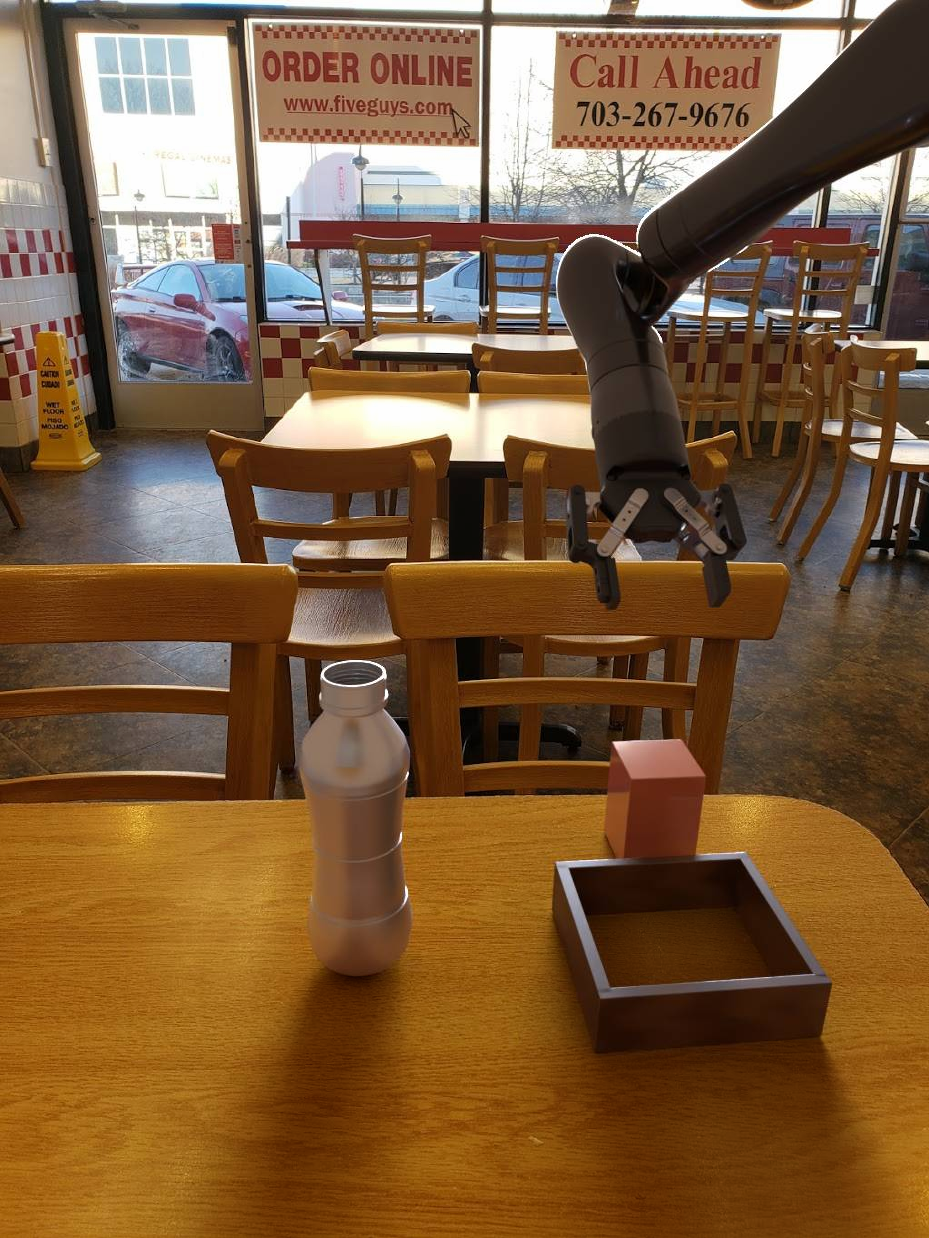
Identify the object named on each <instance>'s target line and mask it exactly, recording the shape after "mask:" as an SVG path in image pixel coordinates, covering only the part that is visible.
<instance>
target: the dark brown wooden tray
mask: <svg viewBox="0 0 929 1238" xmlns="http://www.w3.org/2000/svg"><path fill="white" fill-rule="evenodd" d="M552 883H553V884H552V897H551V898H552V900H551V912H552V916H553V918H554V919H553V920H554V923H555V925H556V929H557V932H558V935H559V938H560V942H561V945H562V949H563V951H564V952H563V953H564V956H565V958H566V961H567V965H568V968H569V971H570V975H571V978H572V981H573V985H574V988H575V991H576V995H577V998H578V1001H579V1004H580V1008H581V1011H582V1014H583V1017H584V1021H585V1025H586V1027H587V1031H588V1034H589V1037H590V1040H591V1044H592V1047H593V1051H594V1053H595V1054H604V1053H619V1052H633V1051H644V1050H645V1051H646V1050H655V1049H656V1050H658V1049H671V1048H672V1049H673V1048H683V1047H685V1048H686V1047H698V1046H699V1047H700V1046H709V1045H710V1046H713V1045H724V1044H738V1043H751V1042H752V1043H753V1042H764V1041H765V1042H766V1041H777V1040H792V1039H805V1038H813V1037H814V1038H817V1037H822V1036H823V1035H822V1034H823V1030H824V1025H825V1021H826V1016H827V1011H828V1006H829V1001H830V997H831V991H832V987H833V981H832V980H831V979H830V977H829V976H828V974H827V973H826V971H825V970H824V969H823V966H822V965H821V964H820V962H819V961H818V959H817V958H816V957H815V954H814V953H813V951H812V950H811V949H810V947H809V945H808V944H807V942H806V941H805V939H804V938H803V936H802V934H801V933H800V932H799V930H798V929H797V927H796V925H795V923H794V922H793V921H792V920H791V919H792V918H790V916H789V914H788V913H787V912H786V910H785V908H784V907H783V906H782V904H781V902H780V901H779V899H778V897H777V896H776V895H775V893H774V892H773V891H772V889H771V887H770V886H769V884H768V883H767V881H766V880H765V878H764V876H763V875H762V873H761V872H760V871H759V869H758V867H757V866H756V864H755V863H754V860H753V859H752V858H751V856H750V854H749V853H748V852H747V851H741V852H740V851H739V852H726V853H725V852H724V853H723V852H721V853H703V854H701V853H700V854H696V855H682V856H662V857H643V858H624V859H616V858H608V859H607V858H605V859H587V860H568V861H555V862H554V870H553V882H552ZM725 907H733V908H734V910H735V912H736V914H737V916H738V917H739V919H740V921H741V922H742V924H743V926H744V928H745V930H746V931H747V933H748V935H749V936H750V938H751V939H752V941H753V943H754V945H755V947H756V949H757V950H758V951H759V953H760V956H761V957H762V959H763V960H764V962H765V964H766V966H767V967H768V969H769V971H770V972H771V974H772V976H769V977H754V978H753V977H752V978H740V979H739V978H737V979H724V980H708V981H696V982H695V981H694V982H681V983H678V982H677V983H666V984H665V983H664V984H651V985H650V984H649V985H635V986H633V985H632V986H620V987H611V985H610V982H609V980H608V977H607V974H606V971H605V967H604V966H603V963H602V960H601V957H600V954H599V950H598V948H597V944H596V943H595V939H594V936H593V934H592V931H591V928H590V925H589V923H588V920H587V916H588V915H590V916H591V915H606V914H607V915H608V914H623V913H624V914H625V913H636V912H637V913H639V912H657V911H673V910H674V911H675V910H690V909H691V910H692V909H708V908H725Z"/></svg>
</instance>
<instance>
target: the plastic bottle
mask: <svg viewBox="0 0 929 1238" xmlns="http://www.w3.org/2000/svg"><path fill="white" fill-rule="evenodd" d="M386 672H387V671H386V668H385V667H383V666H382V665H380V664H378V663H376V662H372V661H367V660H345V661H339V662H336V663H332V664H330V665H328V666H327V667H325V668H324V669H322V671H321V674H320V693H319V696H318V701H319V702H318V703H319V707H320V708H321V709H322V710H323V711H322V713H320V715H319V716H318V717H317V719H316V720H315V721H314V722H313V723H312V724H311V727H310V728H309V730H308V731H307V733H306V734H305V736H304V737H303V738H302V740H301V744H300V748H299V752H298V757H297V763H298V770H299V775H300V779H301V783H302V788H303V792H304V797H305V801H306V807H307V810H308V815H309V826H310V834H311V838H312V840H311V843H312V850H313V863H312V864H313V865H312V884H311V885H312V887H311V895H310V899H309V904H308V913H307V921H306V929H307V935H308V939H309V942H310V946H311V950H312V951H313V953H314V956H315V957H316V958H317V959H318V960H319V962H321V963H322V964H323V965H324V966H325V967H327V968H328V969H329V970H331V971H332V972H335V973H338V974H339V975H344V976H350V977H364V976H369V975H374V974H378V973H380V972H383V971H385V970H386V969H388V968H390V967H391V966H392V965H394V964H395V963H396V962H397V961H398V960H399V959H400V957H402V955H403V954H404V953H405V952H406V950H407V948H408V946H409V943H410V939H411V935H412V934H411V933H412V930H413V924H414V916H413V915H414V914H413V910H412V903H411V899H410V895H409V891H408V888H407V885H406V877H405V875H406V874H405V867H404V866H405V865H404V857H403V850H402V844H403V843H402V841H403V840H402V839H403V836H402V835H403V822H404V821H403V818H404V807H405V806H404V805H405V798H406V792H407V786H408V779H409V770H410V763H411V762H410V761H411V750H410V747H409V744H408V740H407V738H406V736H405V733H404V732H403V730H402V729H401V728H400V726H399V725H398V724H397V723H396V720H394V718H393V717H392V716H391V715H390V714H389V713H388V711H386V710H385V709H384V708H385V707H386V706H387V704H388V703H389V693H388V690H387V673H386Z"/></svg>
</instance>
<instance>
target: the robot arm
mask: <svg viewBox="0 0 929 1238" xmlns="http://www.w3.org/2000/svg"><path fill="white" fill-rule="evenodd" d="M924 148H929V0H893V2H892V3H891V4H890V5H888V6H887V7H886V8H885V9H884V10H883V11H881V12H880V13H879V14H878V15H877V17H875V18H874V19H873V20H872V21H871V22H870V23H869V24H868V25H867V26H866V27H864V29H863V30H862V31H861V32H860V33H859V34H858V35H857V36H856V37H855V38H854V39H853V40H851V42H850V43H849V44H848V45H847V46H846V47H845V48H844V49H843V50H842V51H841V52H840V53H839V54H838V55H837V56H836V57H835V58H834V59H833V60H832V61H831V62H830V63H829V65H827V66H826V68H824V70H823V71H821V72H820V74H818V76H816V78H815V79H814V80H813V81H812V82H811V83H810V84H808V86H806V88H804V89H803V90H802V91H801V92H800V93H799V94H798V95H796V97H795V98H794V99H793V100H791V102H789V103H788V104H787V105H786V106H785V107H784V108H783V109H781V111H779V112H778V113H777V114H776V115H775V116H774V117H773V118H771V119H770V120H769V121H768V122H766V123H765V125H763V126H762V127H761V128H759V130H757V131H756V132H755V133H753V134H752V135H751V136H750V137H748V138H747V139H745V140H744V141H743V142H742V143H740V144H738V146H736V147H735V148H733V149H732V150H731V151H730V152H728V153H727V154H725V155H724V156H722V157H721V158H719V160H716V161H715V162H714V163H713V164H712V165H710V166H709V167H707V168H706V169H704V170H703V171H701V172H700V173H699V174H697V175H696V176H695V177H693V178H692V179H691V180H689V181H687V182H686V183H685V184H684V185H682V186H681V187H680V188H678V189H677V190H675V191H674V192H673V193H672V194H670V195H668V196H667V197H666V198H664V199H663V200H662V201H660V202H659V203H658V204H657V205H655V206H654V207H653V208H651V210H649V212H647V213H646V214H645V215H644V217H643V218H642V219H641V221H640V223H639V225H638V228H637V232H636V244H637V251H638V252H637V251H636V250H633V249H631V248H630V247H628V246H625V245H623V244H622V243H620V242H617V240H613V239H611V238H610V237H607V236H604V235H599V234H589V235H585V236H583V237H580V238H578V239H576V240H575V241H574V242H573V243H571V245H569V246H568V248H567V249H566V251H565V252H564V254H563V256H562V257H561V259H560V262H559V265H558V269H557V272H556V273H557V274H556V281H555V282H556V283H555V285H556V288H555V289H556V297H557V302H558V305H559V308H560V311H561V314H562V317H563V319H564V322H565V323H566V326H567V327H568V330H569V332H570V335H571V337H572V339H573V341H574V343H575V345H576V348H577V349H578V351H579V353H580V355H581V356H582V358H583V361H584V362H585V371H586V377H587V383H588V389H589V390H588V391H589V395H590V396H589V397H590V424H591V430H590V432H591V434H590V435H591V439H592V440H593V444H594V452H595V457H596V465H597V471H598V478H599V485H600V491H586V489H585V487H583V486H582V485H580V484H574V485H572V487H571V488H570V490H569V493H568V495H567V499H566V500H565V504H564V510H565V526H566V527H565V528H566V543H567V544H566V545H567V558H568V560H569V562H571V563H572V564H579V563H583V564H586V565H589V566H590V568H591V569H592V571H593V578H594V585H595V593H596V599H597V600H598V602H599V603H600V604H604V605H605V610H606V611H615V610H617V609H618V607H619V605H620V604H621V599H622V597H621V589H620V581H619V576H618V569H617V562H616V557H613V555H614V554H615V552H616V551H617V550H618V549H619V547H620V545H621V544H622V543H623V541H624V539H625V538H626V539H628V540H631V541H632V542H633V544H645V543H648V542H656V543H661V544H663V543H664V544H665V543H671V542H672V540H673V541H675V543H677V544H678V546H680V547H681V548H682V549H683V550H684V551H686V552H691V553H692V554H693V555H694V557H696V558H697V559H698V560H699V561H700V562H701V563H702V564H703V566H702V568H701V570H702V576H703V577H702V578H703V581H704V587H705V592H706V597H707V602H708V606H709V608H712V609H713V608H714V609H715V608H721V606H722V605H723V604H724V603H725V602H726V600H727V598H728V596H729V595H730V594H731V591H732V583H731V578H730V572H729V568H728V563H727V561H734V560H735V559H736V558H737V557H738V556H739V553H740V552H741V551H742V549H743V548H745V546H746V545H747V542H748V541H747V536H746V532H745V528H744V525H743V523H742V519H741V515H740V511H739V508H738V503H737V501H736V497H735V494H734V490H733V487H732V486H731V485H730V484H728V483H721V484H719V486H718V487H717V489H709V490H707V489H706V490H699V488H697V487H696V486H695V484H694V482H693V480H692V474H691V466H690V460H689V455H688V450H687V445H686V440H685V434H684V429H683V426H682V425H683V424H682V419H681V413H680V410H679V404H678V400H677V397H676V393H675V392H674V391H675V390H674V389H673V386H672V384H671V377H670V372H669V367H668V362H667V357H666V351H665V349H664V343H663V340H662V337H661V336H660V334H659V333H658V331H657V329H655V327H653V326H654V325H656V324H657V323H658V322H659V321H660V320H661V319H662V318H663V317H664V316H665V314H666V313H667V312H668V311H669V310H670V309H671V308H672V307H673V305H675V303H676V302H677V301H678V300H679V299H680V298H681V297H682V296H683V295H684V293H686V291H687V290H688V289H689V288H690V287H691V286H692V284H693V283H694V282H695V281H696V280H697V279H699V278H700V277H702V276H704V275H706V274H707V273H709V272H711V271H712V270H714V269H715V268H718V267H719V266H720V265H722V264H724V263H725V262H727V261H728V260H730V259H732V258H733V257H735V256H736V255H738V254H739V253H741V252H743V251H744V250H746V249H747V248H749V247H750V246H752V245H753V244H755V242H757V241H758V240H760V239H761V238H762V237H763V236H765V235H766V234H767V233H768V232H770V231H771V230H772V229H773V228H774V227H775V226H777V225H778V224H779V223H780V222H781V221H782V220H783V219H784V218H785V217H786V216H787V215H788V214H789V213H791V212H792V211H793V210H794V209H796V208H797V207H799V205H801V204H802V203H804V202H805V201H807V200H808V199H809V198H811V197H812V196H814V195H815V194H816V193H819V192H820V191H821V190H823V189H825V188H827V187H828V186H830V185H832V184H834V183H836V182H838V181H839V180H841V179H843V178H845V177H847V176H849V175H852V174H853V173H856V172H858V171H861V170H863V169H865V168H867V167H869V166H871V165H874V164H876V163H879V162H881V161H884V160H887V159H888V158H891V157H894V156H896V155H899V154H901V153H903V152H906V151H909V150H912V149H924ZM697 507H701V508H703V510H704V511H705V514H706V516H707V517H708V518H712V520H713V525H714V528H715V532H716V533H715V532H713V530H711V528H710V524H709V522H708V521H707V520H706V519H705V518H704V517H703V516H702V515H701V514H700V513H698V512H697V510H696V509H697ZM597 508H598V510H599V511H600V513H601V514H602V515H603V516H604V517H605V518H606V519H607V520H608V521H609V522H610V523H611V525H610V527H609V529H608V530H607V532H605V534H604V536H603V538H602V539H601V541H600V542H599V543H595V542H593V541H589V525H588V519H589V518H591V516H592V514H593V512H594V509H597ZM686 526H687V527H688V528H689V531H688V530H687V529H686Z"/></svg>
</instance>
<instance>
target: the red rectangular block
mask: <svg viewBox="0 0 929 1238" xmlns="http://www.w3.org/2000/svg"><path fill="white" fill-rule="evenodd" d="M706 779H707V776H706V774H705V773H704V771H703V770H702V768H701V766H700V764H698V762H697V760H696V759H695V758H694V757H693V754H692V753H691V751H690V750H689V748H688V747H687V745H686V744H685V743H684V741H683V739H655V740H654V739H653V740H652V739H651V740H625V741H624V740H623V741H621V740H620V741H611V748H610V757H609V769H608V780H607V793H606V802H605V814H604V822H603V823H604V826H603V831H604V834H605V837H606V838H607V841H608V844H609V845H610V848H611V850H612V852H613V855H614V857H615V859H624V858H643V857H662V856H682V855H697V848H698V841H699V840H698V839H699V834H700V833H699V832H700V825H701V818H702V817H701V816H702V810H703V802H704V794H705V787H706V781H707V780H706Z"/></svg>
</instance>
